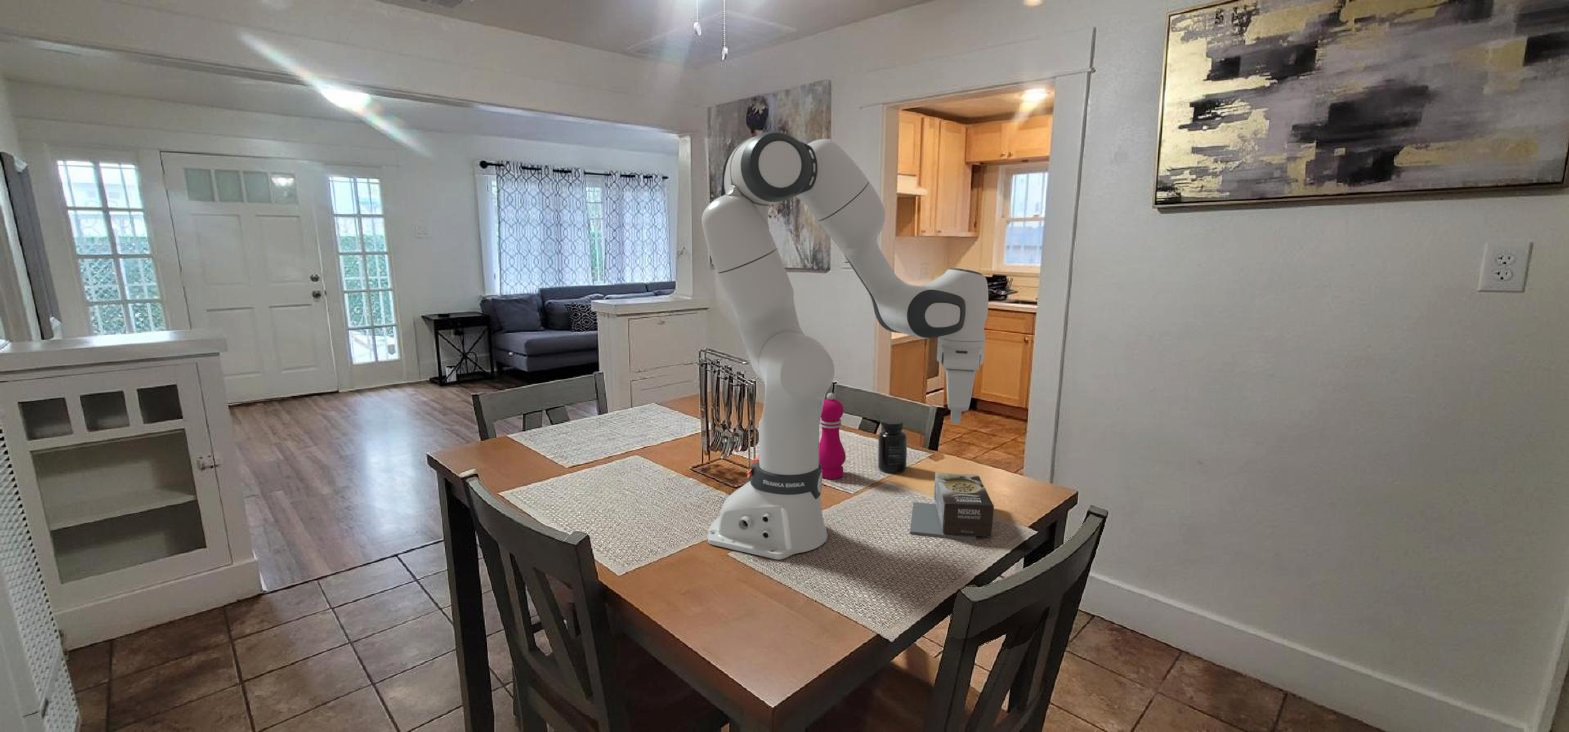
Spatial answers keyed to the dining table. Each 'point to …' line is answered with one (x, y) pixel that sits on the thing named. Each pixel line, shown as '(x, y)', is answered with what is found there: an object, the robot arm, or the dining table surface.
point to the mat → (930, 522)
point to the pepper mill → (831, 439)
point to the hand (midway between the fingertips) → (955, 421)
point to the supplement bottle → (892, 447)
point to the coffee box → (963, 505)
